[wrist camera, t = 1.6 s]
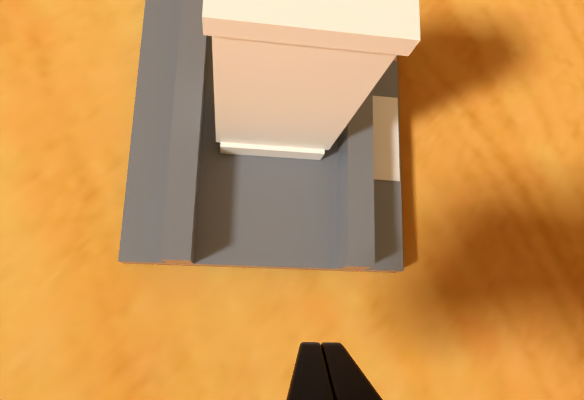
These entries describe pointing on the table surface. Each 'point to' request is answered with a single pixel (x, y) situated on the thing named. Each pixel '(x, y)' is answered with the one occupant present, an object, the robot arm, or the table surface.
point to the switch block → (251, 173)
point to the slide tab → (299, 68)
